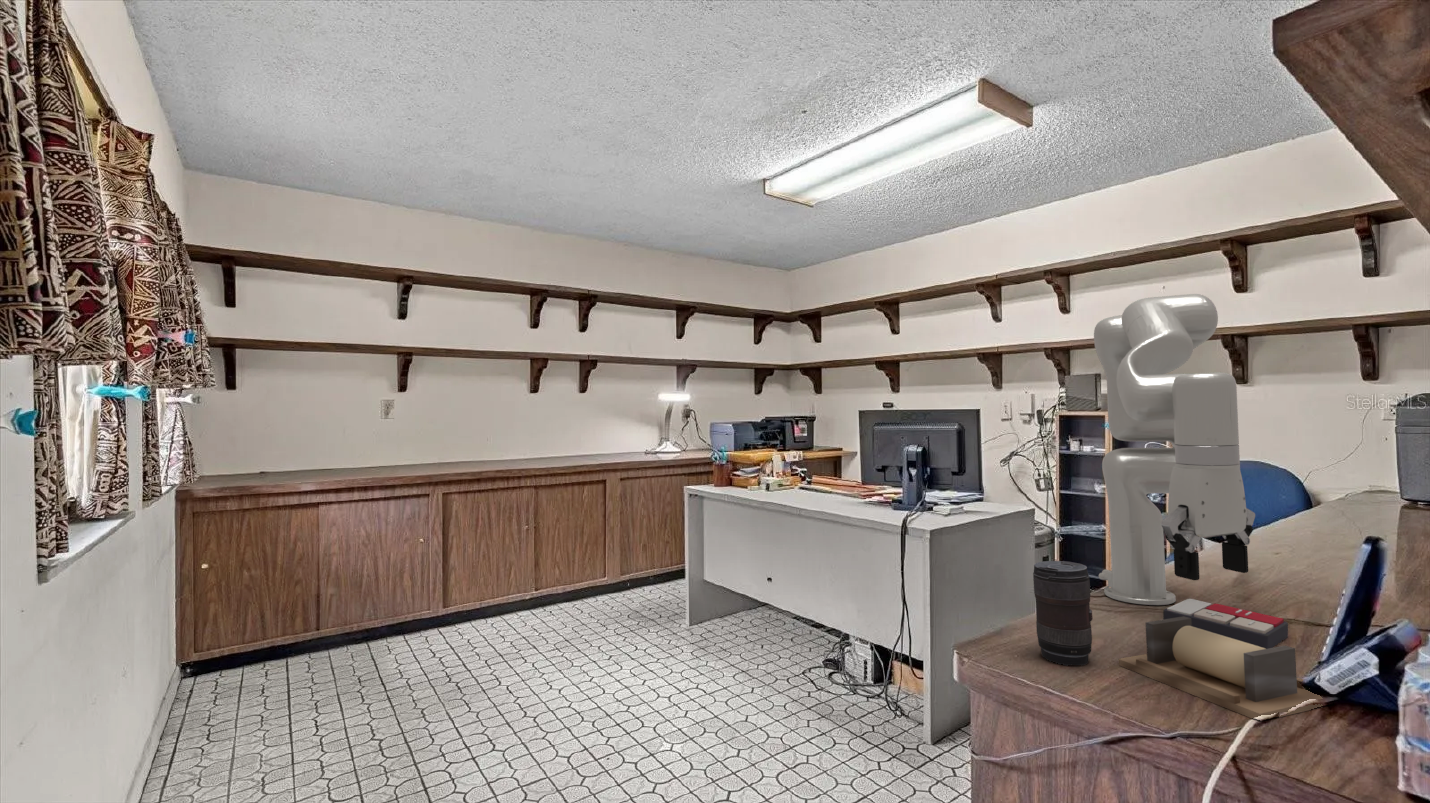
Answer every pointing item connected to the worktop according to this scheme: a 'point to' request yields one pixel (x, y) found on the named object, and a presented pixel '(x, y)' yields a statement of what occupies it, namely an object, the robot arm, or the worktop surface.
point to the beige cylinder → (1212, 653)
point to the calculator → (1231, 622)
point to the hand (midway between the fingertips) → (1211, 574)
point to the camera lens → (1063, 611)
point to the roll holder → (1265, 680)
